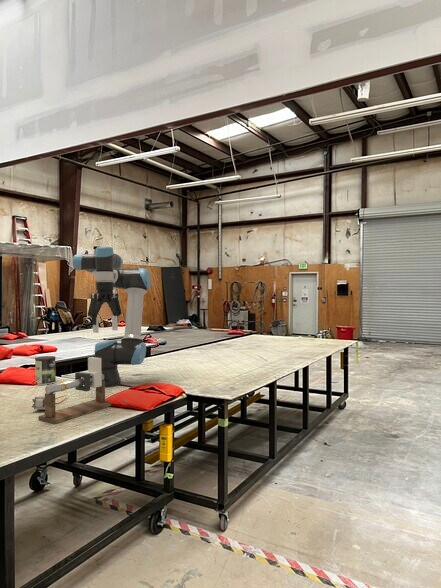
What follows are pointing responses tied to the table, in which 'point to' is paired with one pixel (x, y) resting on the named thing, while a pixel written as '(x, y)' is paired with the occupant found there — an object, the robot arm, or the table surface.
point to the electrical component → (42, 402)
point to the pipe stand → (73, 407)
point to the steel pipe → (67, 385)
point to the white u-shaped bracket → (95, 371)
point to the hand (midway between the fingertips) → (105, 331)
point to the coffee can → (45, 370)
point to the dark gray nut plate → (86, 381)
